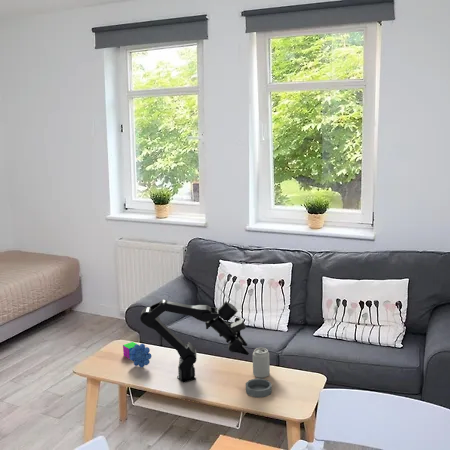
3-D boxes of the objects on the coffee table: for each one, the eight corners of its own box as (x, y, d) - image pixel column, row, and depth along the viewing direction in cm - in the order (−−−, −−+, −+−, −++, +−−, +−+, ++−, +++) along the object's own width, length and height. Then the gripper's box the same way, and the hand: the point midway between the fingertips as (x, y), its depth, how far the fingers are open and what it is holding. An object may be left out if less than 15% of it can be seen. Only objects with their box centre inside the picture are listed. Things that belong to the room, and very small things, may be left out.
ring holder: (255, 400, 231) (254, 393, 231) (241, 389, 240) (240, 382, 240) (276, 392, 237) (276, 386, 236) (262, 382, 246) (262, 376, 245)
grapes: (157, 365, 265) (155, 341, 262) (149, 371, 259) (147, 347, 256) (136, 361, 270) (134, 337, 267) (128, 367, 264) (126, 343, 261)
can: (272, 373, 254) (272, 348, 251) (264, 380, 248) (264, 355, 245) (258, 369, 258) (257, 345, 255) (249, 376, 252) (249, 351, 249)
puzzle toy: (139, 356, 276) (139, 345, 275) (129, 359, 272) (128, 348, 271) (133, 352, 280) (132, 341, 279) (123, 356, 277) (122, 345, 275)
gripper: (235, 322, 237) (262, 345, 240) (233, 307, 256) (258, 329, 258) (217, 340, 239) (244, 363, 241) (216, 324, 257) (241, 346, 260)
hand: (247, 349), depth 250 cm, fingers open, 9 cm apart
